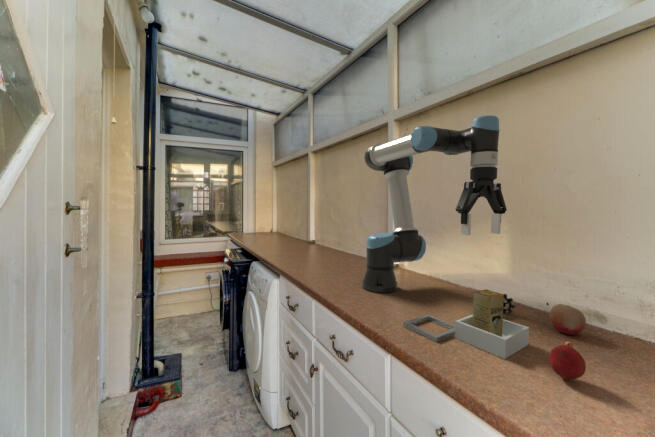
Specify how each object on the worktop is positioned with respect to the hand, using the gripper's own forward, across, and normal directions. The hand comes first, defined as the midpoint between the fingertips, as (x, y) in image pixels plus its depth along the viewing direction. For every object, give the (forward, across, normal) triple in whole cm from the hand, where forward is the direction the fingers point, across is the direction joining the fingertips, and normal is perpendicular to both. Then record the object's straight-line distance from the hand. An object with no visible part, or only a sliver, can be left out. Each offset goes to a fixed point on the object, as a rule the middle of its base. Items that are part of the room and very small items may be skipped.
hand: (481, 234), depth 90 cm
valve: (+27, +5, -1) cm, 28 cm away
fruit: (+27, +13, -18) cm, 35 cm away
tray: (+27, -12, -13) cm, 32 cm away
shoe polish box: (+26, -12, -12) cm, 31 cm away
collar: (+27, -21, -2) cm, 34 cm away
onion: (+27, -13, -31) cm, 43 cm away
